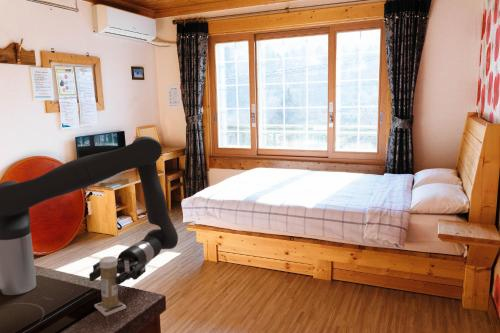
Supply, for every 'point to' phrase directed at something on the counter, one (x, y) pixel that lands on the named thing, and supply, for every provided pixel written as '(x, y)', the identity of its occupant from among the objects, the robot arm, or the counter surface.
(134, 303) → the counter surface
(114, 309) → the letter card
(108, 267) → the sprinkles bottle
